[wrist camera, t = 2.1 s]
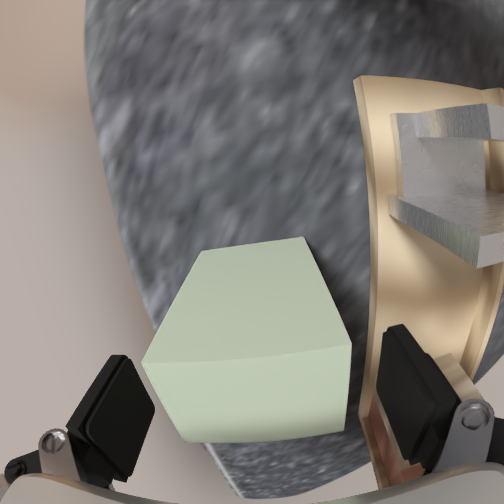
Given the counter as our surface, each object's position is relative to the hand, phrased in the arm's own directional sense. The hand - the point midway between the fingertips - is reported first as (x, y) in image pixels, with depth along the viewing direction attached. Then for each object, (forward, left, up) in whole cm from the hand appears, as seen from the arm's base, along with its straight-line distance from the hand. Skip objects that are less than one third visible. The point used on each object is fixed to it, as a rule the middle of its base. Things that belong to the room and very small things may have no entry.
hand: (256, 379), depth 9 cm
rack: (+1, +11, -7) cm, 13 cm away
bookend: (-6, +11, -6) cm, 14 cm away
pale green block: (-1, 0, -7) cm, 7 cm away
